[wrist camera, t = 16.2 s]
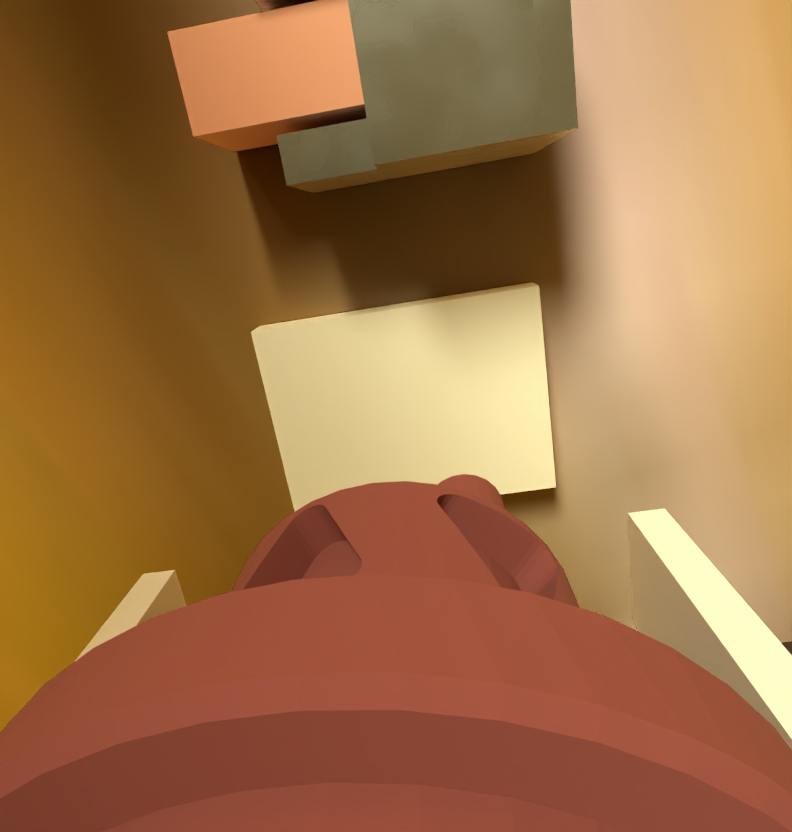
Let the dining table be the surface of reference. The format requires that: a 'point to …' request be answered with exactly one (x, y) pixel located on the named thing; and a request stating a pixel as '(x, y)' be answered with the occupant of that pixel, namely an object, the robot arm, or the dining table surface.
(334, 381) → the block
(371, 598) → the mechanical component
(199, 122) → the key
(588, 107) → the dining table surface
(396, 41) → the housing
